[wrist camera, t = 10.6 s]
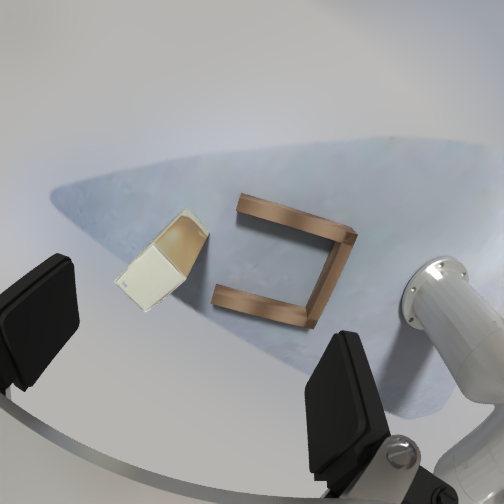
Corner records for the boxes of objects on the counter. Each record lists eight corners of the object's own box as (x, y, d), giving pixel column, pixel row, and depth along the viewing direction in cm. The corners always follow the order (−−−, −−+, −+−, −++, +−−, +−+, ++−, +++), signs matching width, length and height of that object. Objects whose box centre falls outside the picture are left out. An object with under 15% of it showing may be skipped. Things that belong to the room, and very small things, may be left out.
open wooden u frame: (351, 227, 33) (357, 234, 31) (311, 318, 39) (313, 329, 37) (241, 193, 32) (239, 197, 30) (213, 293, 38) (210, 303, 36)
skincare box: (177, 261, 36) (143, 316, 25) (154, 237, 35) (110, 284, 24) (212, 231, 35) (188, 280, 23) (188, 205, 33) (152, 242, 22)
